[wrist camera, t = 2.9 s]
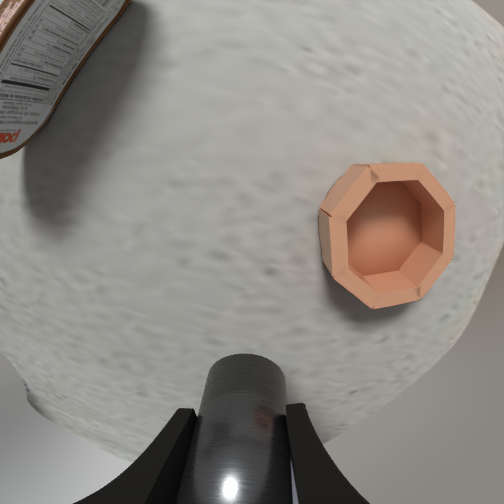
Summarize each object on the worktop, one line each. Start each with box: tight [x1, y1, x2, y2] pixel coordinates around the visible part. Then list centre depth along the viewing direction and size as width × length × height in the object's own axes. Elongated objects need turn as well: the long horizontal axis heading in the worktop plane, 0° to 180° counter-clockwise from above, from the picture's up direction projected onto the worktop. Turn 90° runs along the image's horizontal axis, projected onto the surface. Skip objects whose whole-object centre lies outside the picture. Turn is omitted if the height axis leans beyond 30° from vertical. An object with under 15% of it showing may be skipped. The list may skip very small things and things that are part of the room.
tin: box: [0, 0, 130, 159], centre depth 8 cm, size 15×3×8 cm, turn 141°
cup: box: [318, 162, 455, 309], centre depth 14 cm, size 7×7×3 cm
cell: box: [176, 354, 293, 504], centre depth 8 cm, size 4×4×8 cm
